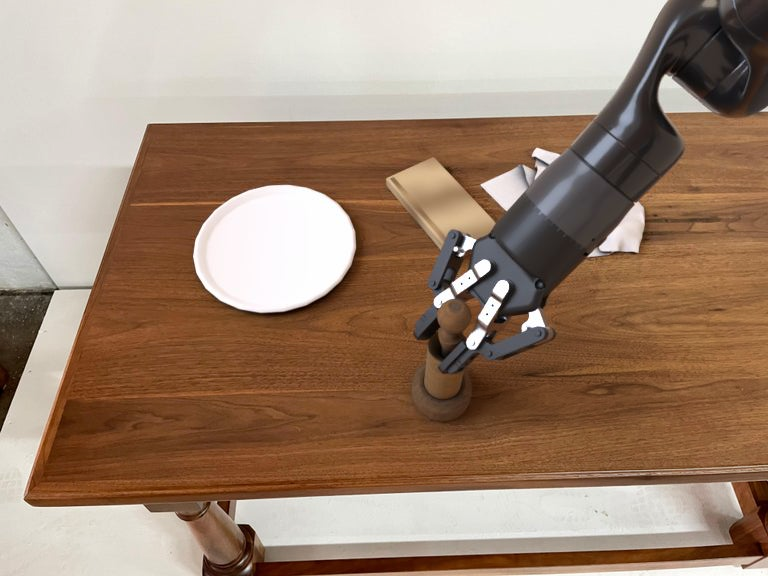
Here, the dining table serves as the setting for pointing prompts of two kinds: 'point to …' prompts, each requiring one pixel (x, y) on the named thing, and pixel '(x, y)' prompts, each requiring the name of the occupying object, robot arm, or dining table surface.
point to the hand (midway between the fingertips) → (432, 353)
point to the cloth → (521, 177)
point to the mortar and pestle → (429, 386)
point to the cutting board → (438, 202)
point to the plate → (274, 249)
